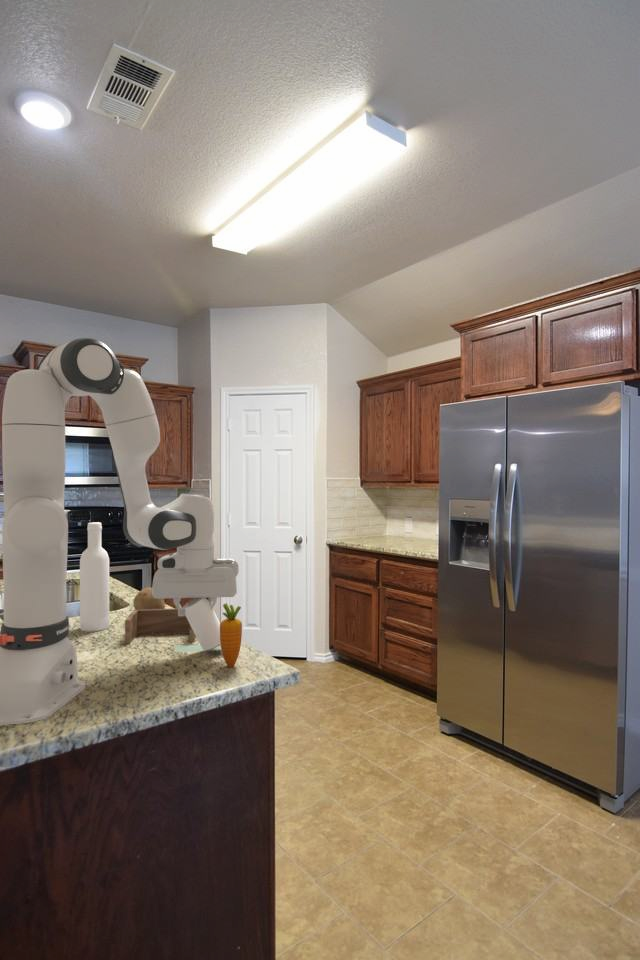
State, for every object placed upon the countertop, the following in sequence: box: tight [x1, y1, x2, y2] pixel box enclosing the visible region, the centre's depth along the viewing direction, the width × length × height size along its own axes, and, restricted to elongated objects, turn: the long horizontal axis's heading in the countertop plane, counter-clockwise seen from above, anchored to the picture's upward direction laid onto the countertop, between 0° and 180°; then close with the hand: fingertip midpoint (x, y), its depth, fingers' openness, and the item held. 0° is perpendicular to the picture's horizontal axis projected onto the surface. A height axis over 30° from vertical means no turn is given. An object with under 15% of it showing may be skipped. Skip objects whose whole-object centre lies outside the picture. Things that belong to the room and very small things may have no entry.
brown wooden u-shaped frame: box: [124, 608, 197, 645], centre depth 143 cm, size 10×17×6 cm, turn 97°
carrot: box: [220, 603, 243, 668], centre depth 121 cm, size 5×5×15 cm
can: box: [182, 598, 221, 652], centre depth 131 cm, size 6×6×12 cm
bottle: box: [79, 521, 111, 633], centre depth 152 cm, size 8×8×30 cm
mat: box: [173, 644, 221, 653], centre depth 131 cm, size 11×11×1 cm
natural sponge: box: [132, 586, 166, 610], centre depth 160 cm, size 9×9×10 cm
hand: (195, 615), depth 131 cm, fingers closed on can, 5 cm apart
